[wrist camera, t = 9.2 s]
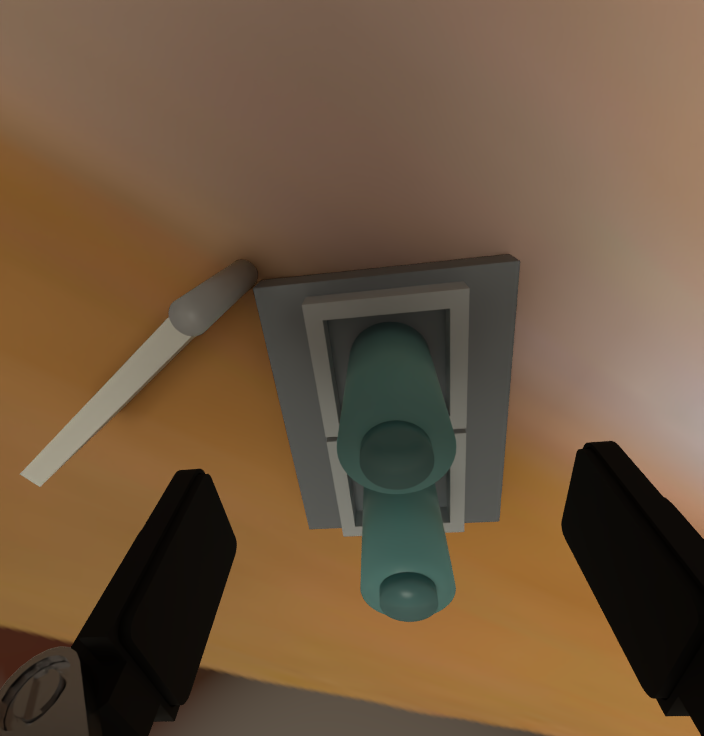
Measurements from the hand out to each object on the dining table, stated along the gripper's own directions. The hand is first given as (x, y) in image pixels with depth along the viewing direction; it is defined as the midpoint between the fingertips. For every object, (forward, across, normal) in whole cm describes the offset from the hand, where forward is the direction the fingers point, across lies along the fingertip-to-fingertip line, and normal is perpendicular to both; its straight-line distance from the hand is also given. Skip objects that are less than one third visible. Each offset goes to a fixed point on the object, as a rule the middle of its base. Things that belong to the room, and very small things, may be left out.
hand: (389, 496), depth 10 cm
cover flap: (+12, +11, 0) cm, 16 cm away
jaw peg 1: (+10, 0, +1) cm, 10 cm away
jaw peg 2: (+10, 0, +9) cm, 13 cm away
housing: (+11, 0, +5) cm, 12 cm away
